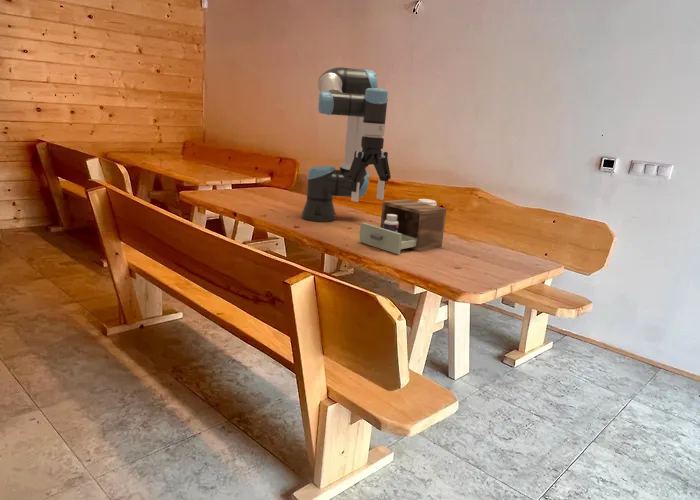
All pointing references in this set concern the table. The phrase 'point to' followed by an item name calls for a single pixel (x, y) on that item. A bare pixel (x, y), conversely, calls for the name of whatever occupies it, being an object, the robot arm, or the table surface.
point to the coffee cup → (427, 201)
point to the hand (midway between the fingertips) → (367, 200)
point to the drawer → (385, 238)
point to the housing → (417, 221)
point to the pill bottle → (391, 223)
